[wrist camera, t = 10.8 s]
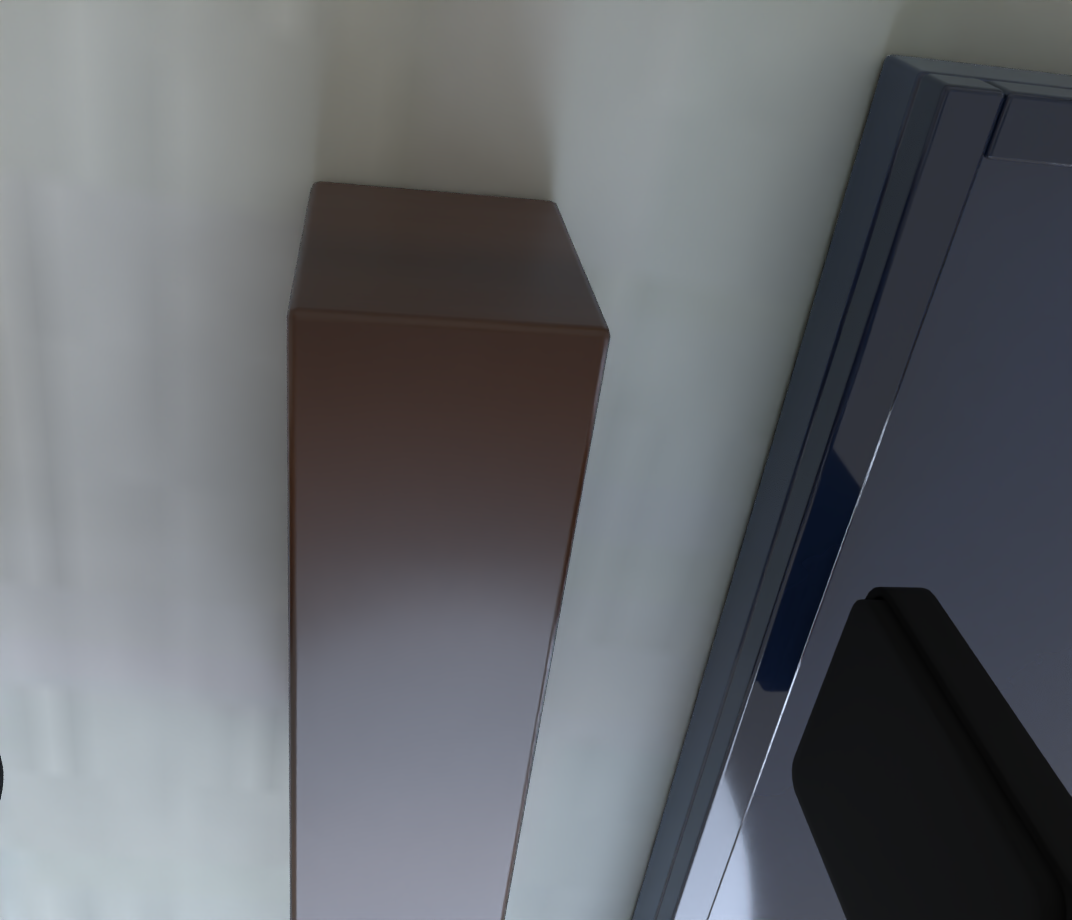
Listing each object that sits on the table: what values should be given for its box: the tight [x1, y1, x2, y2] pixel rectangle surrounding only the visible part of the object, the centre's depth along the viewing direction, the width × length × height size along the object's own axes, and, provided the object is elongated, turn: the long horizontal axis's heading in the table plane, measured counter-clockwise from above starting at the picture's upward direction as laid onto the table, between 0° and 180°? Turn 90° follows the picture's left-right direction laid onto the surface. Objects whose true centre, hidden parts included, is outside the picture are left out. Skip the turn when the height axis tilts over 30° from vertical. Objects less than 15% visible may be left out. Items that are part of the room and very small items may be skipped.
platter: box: [632, 55, 1072, 920], centre depth 16 cm, size 22×12×1 cm, turn 173°
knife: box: [287, 182, 610, 920], centre depth 14 cm, size 19×2×3 cm, turn 173°
